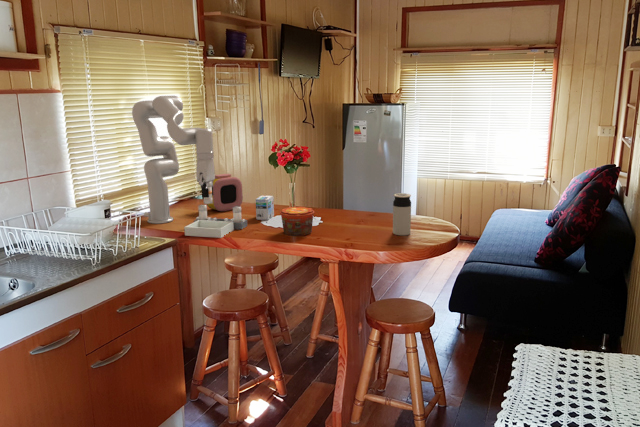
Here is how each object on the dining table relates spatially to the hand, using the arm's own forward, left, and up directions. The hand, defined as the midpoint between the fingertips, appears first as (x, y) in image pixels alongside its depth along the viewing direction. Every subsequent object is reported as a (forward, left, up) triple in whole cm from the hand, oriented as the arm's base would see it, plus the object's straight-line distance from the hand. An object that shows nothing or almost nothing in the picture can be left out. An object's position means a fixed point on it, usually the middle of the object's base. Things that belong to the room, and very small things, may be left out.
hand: (207, 195), depth 248 cm
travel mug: (+87, +17, -18) cm, 90 cm away
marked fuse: (0, 0, -3) cm, 3 cm away
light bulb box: (+15, +34, -18) cm, 41 cm away
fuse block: (0, +12, -17) cm, 21 cm away
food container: (+40, +9, -18) cm, 45 cm away
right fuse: (+9, +12, -17) cm, 23 cm away
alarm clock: (-14, +48, -18) cm, 53 cm away
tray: (0, 0, -17) cm, 17 cm away
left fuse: (-9, +12, -17) cm, 23 cm away
